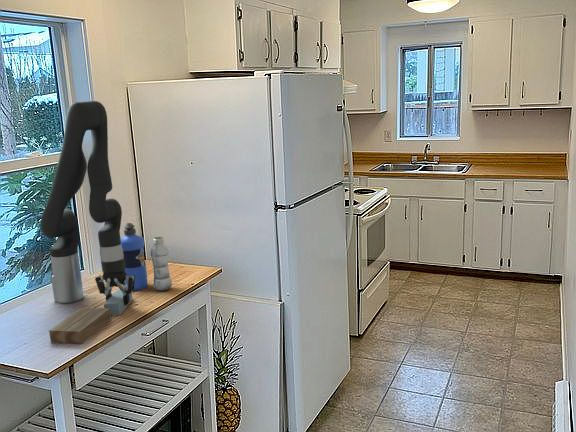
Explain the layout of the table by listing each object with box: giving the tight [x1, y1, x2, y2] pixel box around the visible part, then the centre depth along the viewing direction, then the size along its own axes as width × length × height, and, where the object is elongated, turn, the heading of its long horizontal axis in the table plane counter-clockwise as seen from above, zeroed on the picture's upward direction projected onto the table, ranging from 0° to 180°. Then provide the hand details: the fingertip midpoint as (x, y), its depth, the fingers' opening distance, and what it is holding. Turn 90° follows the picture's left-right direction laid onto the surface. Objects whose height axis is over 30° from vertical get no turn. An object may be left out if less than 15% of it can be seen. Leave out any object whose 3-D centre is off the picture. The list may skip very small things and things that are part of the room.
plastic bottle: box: [149, 236, 173, 291], centre depth 205 cm, size 6×7×20 cm
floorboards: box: [48, 307, 112, 345], centre depth 172 cm, size 10×18×4 cm, turn 170°
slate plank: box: [103, 288, 133, 316], centre depth 191 cm, size 5×14×4 cm, turn 178°
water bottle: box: [120, 222, 149, 292], centre depth 209 cm, size 9×9×25 cm
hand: (118, 304), depth 191 cm, fingers closed on slate plank, 5 cm apart
